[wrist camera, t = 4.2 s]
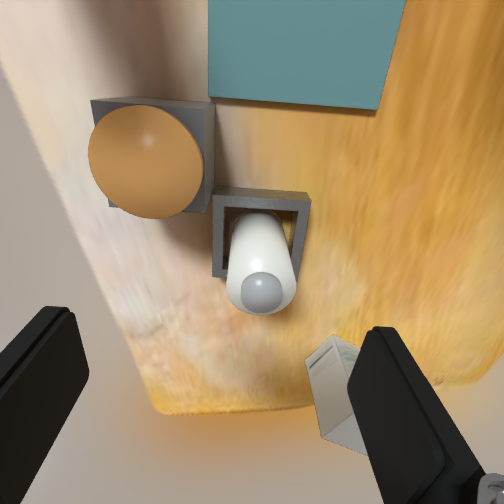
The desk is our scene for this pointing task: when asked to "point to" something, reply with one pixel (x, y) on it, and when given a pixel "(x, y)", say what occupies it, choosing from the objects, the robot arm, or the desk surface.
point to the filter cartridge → (259, 264)
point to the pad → (302, 50)
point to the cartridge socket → (261, 200)
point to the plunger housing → (194, 118)
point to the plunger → (145, 161)
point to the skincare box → (335, 392)
